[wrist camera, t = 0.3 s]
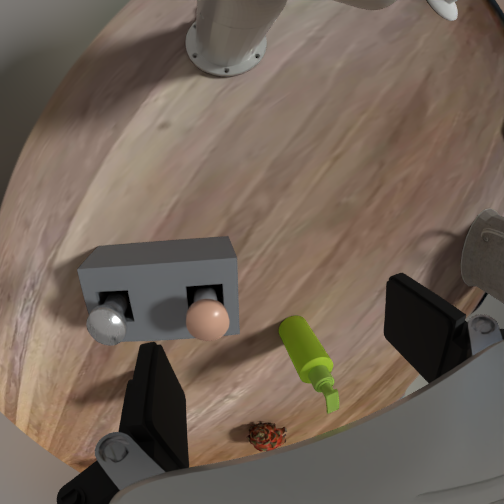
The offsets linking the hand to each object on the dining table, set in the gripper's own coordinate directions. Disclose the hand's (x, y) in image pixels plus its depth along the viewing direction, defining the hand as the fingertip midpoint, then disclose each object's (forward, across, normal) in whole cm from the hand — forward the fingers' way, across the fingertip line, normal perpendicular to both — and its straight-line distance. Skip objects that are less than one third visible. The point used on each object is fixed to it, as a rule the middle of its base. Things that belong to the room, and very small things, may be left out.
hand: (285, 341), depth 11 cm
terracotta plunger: (+28, +5, +11) cm, 31 cm away
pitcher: (+37, -66, +23) cm, 79 cm away
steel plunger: (+28, +18, +9) cm, 35 cm away
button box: (+36, +11, +10) cm, 39 cm away
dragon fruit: (+38, +2, +58) cm, 69 cm away
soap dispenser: (+37, -9, +28) cm, 47 cm away
